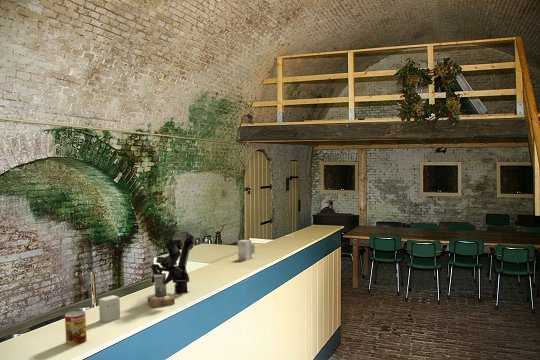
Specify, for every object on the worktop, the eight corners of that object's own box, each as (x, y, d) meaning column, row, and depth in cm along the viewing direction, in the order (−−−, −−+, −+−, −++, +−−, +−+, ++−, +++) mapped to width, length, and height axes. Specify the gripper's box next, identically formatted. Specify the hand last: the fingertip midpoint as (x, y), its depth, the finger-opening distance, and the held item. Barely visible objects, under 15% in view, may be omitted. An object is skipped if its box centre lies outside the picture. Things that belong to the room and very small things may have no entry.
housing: (165, 294, 242) (164, 272, 242) (169, 297, 236) (168, 274, 236) (152, 297, 239) (151, 274, 239) (155, 300, 233) (154, 276, 232)
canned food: (76, 346, 180) (75, 317, 180) (61, 344, 183) (60, 315, 183) (90, 339, 187) (89, 311, 187) (76, 337, 190) (75, 309, 190)
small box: (114, 316, 218) (113, 294, 218) (120, 318, 215) (119, 296, 215) (99, 320, 212) (98, 298, 212) (105, 322, 208) (104, 300, 208)
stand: (168, 299, 245) (168, 293, 245) (174, 304, 235) (174, 298, 235) (147, 302, 240) (147, 297, 240) (153, 307, 230) (152, 302, 229)
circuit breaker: (255, 257, 359) (255, 238, 359) (245, 260, 347) (245, 241, 347) (248, 256, 363) (247, 238, 363) (238, 259, 351) (237, 241, 351)
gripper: (152, 249, 245) (137, 273, 236) (177, 251, 236) (163, 276, 226) (162, 260, 252) (149, 284, 243) (187, 263, 242) (174, 288, 233)
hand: (158, 283), depth 236 cm, fingers open, 9 cm apart
